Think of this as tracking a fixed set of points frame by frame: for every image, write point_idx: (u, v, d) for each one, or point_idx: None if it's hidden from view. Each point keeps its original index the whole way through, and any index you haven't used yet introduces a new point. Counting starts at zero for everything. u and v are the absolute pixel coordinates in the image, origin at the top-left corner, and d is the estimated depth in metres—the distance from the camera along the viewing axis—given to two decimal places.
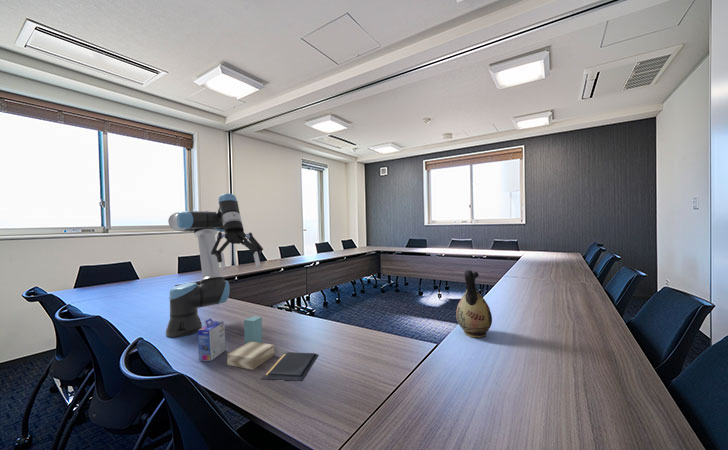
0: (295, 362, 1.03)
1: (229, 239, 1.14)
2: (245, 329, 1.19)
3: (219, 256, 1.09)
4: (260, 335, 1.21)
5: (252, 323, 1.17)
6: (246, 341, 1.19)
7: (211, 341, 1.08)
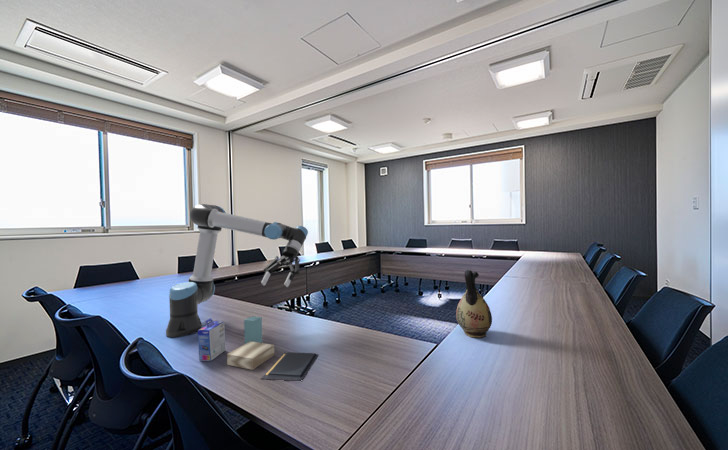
0: (295, 362, 1.03)
1: None
2: (245, 329, 1.19)
3: None
4: (260, 335, 1.21)
5: (252, 323, 1.17)
6: (246, 341, 1.19)
7: (211, 341, 1.08)
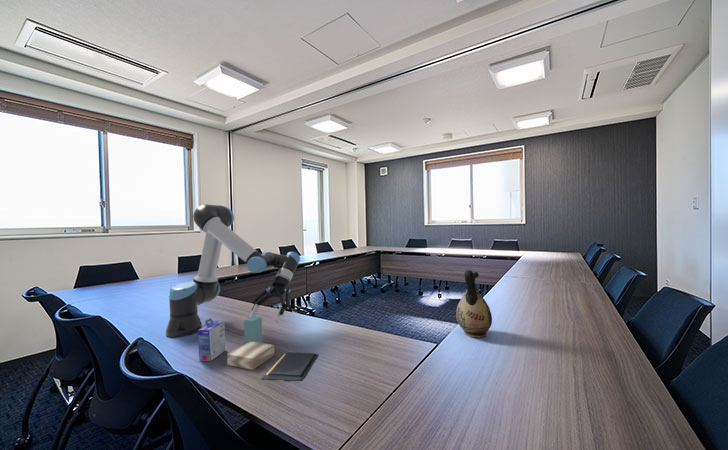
0: (295, 362, 1.03)
1: None
2: (245, 329, 1.19)
3: None
4: (260, 335, 1.21)
5: (252, 323, 1.17)
6: (246, 341, 1.19)
7: (211, 341, 1.08)
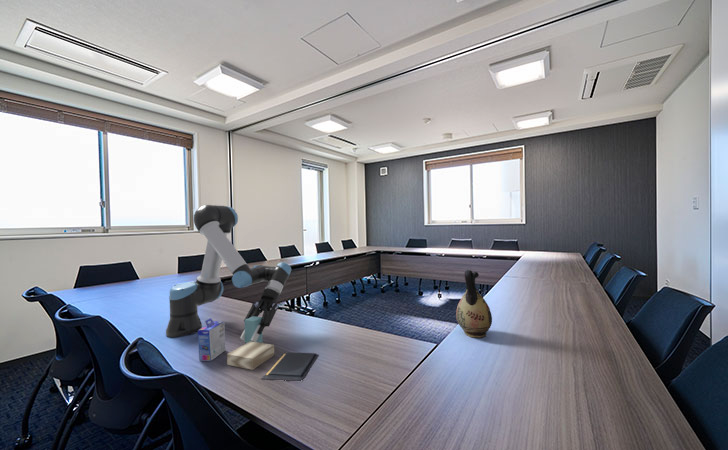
0: (295, 362, 1.03)
1: None
2: (245, 329, 1.19)
3: None
4: (261, 335, 1.21)
5: (252, 323, 1.17)
6: (246, 341, 1.18)
7: (211, 341, 1.08)
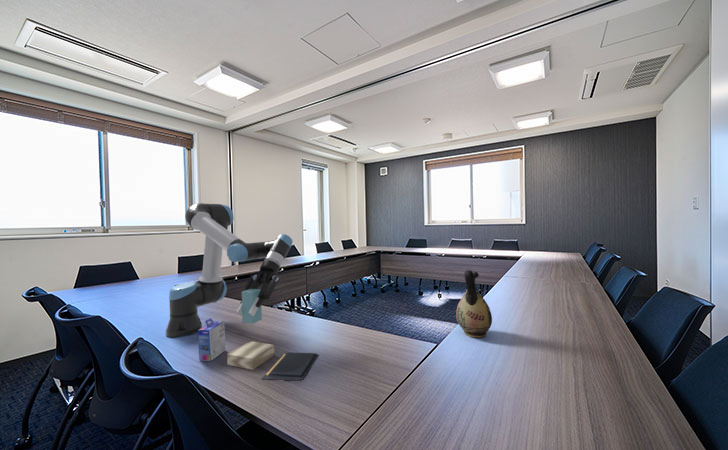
0: (295, 362, 1.03)
1: None
2: (243, 302, 1.08)
3: None
4: (259, 309, 1.10)
5: (251, 295, 1.06)
6: (244, 315, 1.08)
7: (211, 341, 1.08)
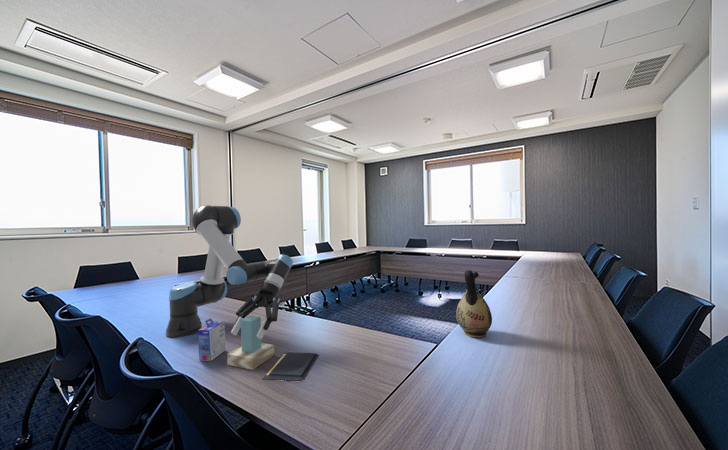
0: (296, 362, 1.03)
1: None
2: (242, 330, 1.06)
3: None
4: None
5: (249, 324, 1.05)
6: (243, 344, 1.06)
7: (211, 341, 1.08)
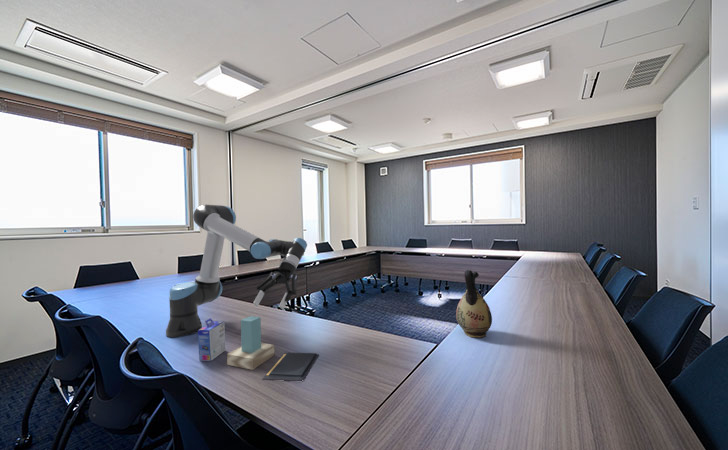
0: (296, 362, 1.03)
1: None
2: (242, 330, 1.06)
3: None
4: (259, 337, 1.09)
5: (249, 324, 1.05)
6: (243, 344, 1.06)
7: (211, 341, 1.08)
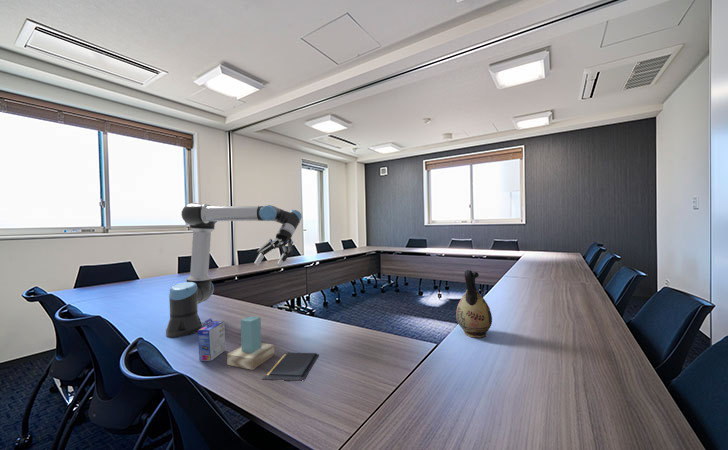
0: (296, 362, 1.03)
1: None
2: (242, 330, 1.06)
3: None
4: (259, 337, 1.09)
5: (249, 324, 1.05)
6: (243, 344, 1.06)
7: (211, 341, 1.08)
